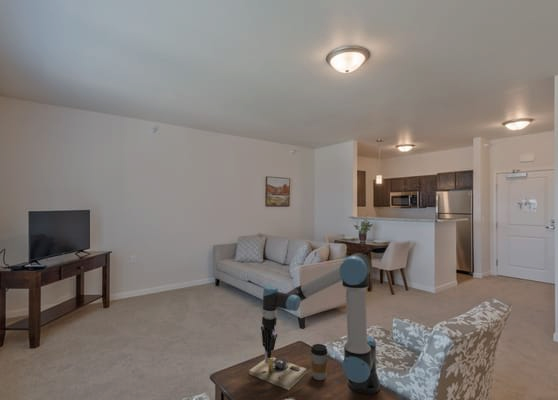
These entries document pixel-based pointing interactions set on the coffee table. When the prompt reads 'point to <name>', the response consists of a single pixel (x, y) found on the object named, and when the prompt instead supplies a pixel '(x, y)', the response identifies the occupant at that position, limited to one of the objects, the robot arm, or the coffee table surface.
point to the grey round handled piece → (276, 364)
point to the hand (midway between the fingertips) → (267, 362)
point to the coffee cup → (319, 361)
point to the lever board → (279, 374)
